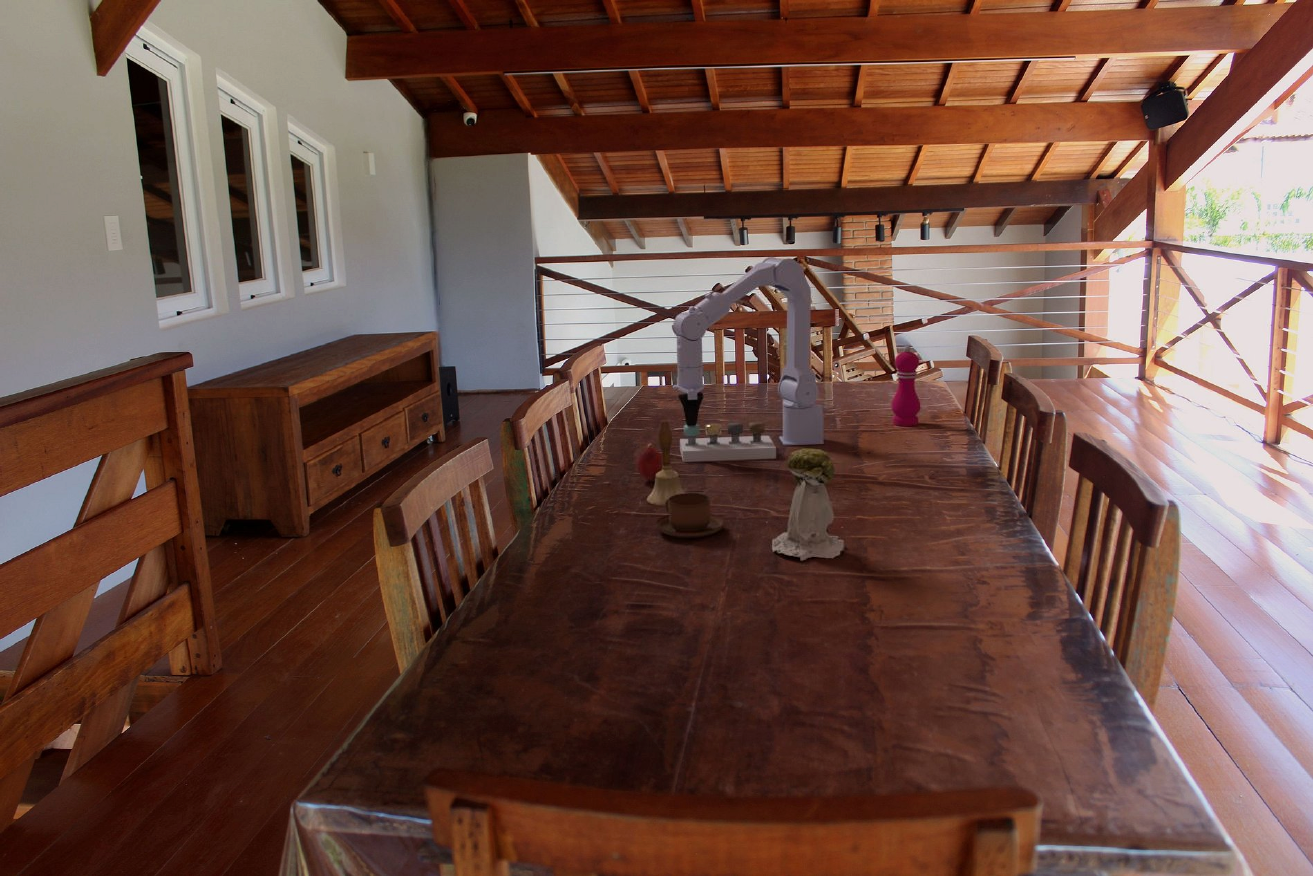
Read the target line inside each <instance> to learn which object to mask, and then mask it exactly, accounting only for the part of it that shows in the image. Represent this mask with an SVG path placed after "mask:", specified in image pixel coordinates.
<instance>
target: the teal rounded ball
mask: <svg viewBox="0 0 1313 876" xmlns="http://www.w3.org/2000/svg"><path fill="white" fill-rule="evenodd" d="M683 435H684V436H685V437H687V439H688V444H689V445H694V444H696V438H697V436H699V435H700V424H698V423H697V424H696V425H694V426H687V424H685V425H683Z"/></svg>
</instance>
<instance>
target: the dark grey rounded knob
mask: <svg viewBox="0 0 1313 876" xmlns="http://www.w3.org/2000/svg"><path fill="white" fill-rule="evenodd" d="M726 425H727V426H726V433H727V434H728V435H731V436H730V437H731V442H732V443H739V437H740V435H742V434H743V433H744V424H743V422H729V423H727V424H726Z"/></svg>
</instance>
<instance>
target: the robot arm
mask: <svg viewBox="0 0 1313 876" xmlns="http://www.w3.org/2000/svg"><path fill="white" fill-rule="evenodd" d="M804 271H805V270H804V266H802V265H801V264H800V263H799V262H798V261H796V260H795V259H793V258H788V257H786V258H781V257H778V258H777V257H773V256H770V257H769V256H768V257H765V258H764V259H763V260H762V261H761V262H758V263H756V264H755V265H754V266H752V268H751V269H750V270H749V271H747V272H746V273H745V274H744V275H743V276H741V277H740V278H739V279H738V280H736V281H735V282H734V283H733V284H731V285H730V286H729V287H728V288H726V289H725V290H724V291H722V292H716V291H714V292H708V293H706V294H704V299H702V300H701V301H700V302H698V303H697V304H696V305H694V306H693V305H691V306H690V307H688V312H681V313H679V314H677V315H676V317H675V319H674V320H673V324H672V325H671V330H672V332H673V334H674V335H675V336H676V364H677V365H676V367H677V384H675V385H672V389H673V390H678V391H680V392H682V393H679V394H677V397H678V399H679V401H680V403H681V406H682V408H683V413H684V419H685V420H684V421H685V424H686V425H687V426H694V425H696V424H697V425H698V420H699V419H698V417H699V411H700V408H701V404H702V403H703V400H704V397H705V396H704V393H703V392H701V391H702V390H704V389H705V385H704V376H703V374H704V370H703V368H704V367H703V337H704V336H705V335H706V333H707V329H709V328H710V327H711V326H713V325H714V324H715V323H717V322H718V321H719V320H721V319H723V318H724V317H725V316H726V315H728V314H729V313H730V310H731V305H733V304H735V303H736V302H737V301H739V300H741V298H743V297H745V296H746V295H748V294H749V293H752V291H754V290H756V289H757V288H758V287H773V288H775V289H777V291H779V292H780V293H781V294H782V295H783V296H784V297H786V301H787V303H786V308H787V309H786V362H785V366H784V367H783V369H782V370H781V375H780V376H781V377H780V380H779V382H778V385H777V393H778V395H779V397H780V398H781V399H782V435H781V436H779V440H780V441H781V443H782V445H784V446H801V445H802V446H805V445H806V446H807V445H824V444H825V442H824V410H823V406H822V405H821V404H815V403H816V401H817V400H818V399H819V394H820V391H819V386H818V384H817V381H816V374H815V372H814V370H813V368H812V367H811V364H810V357H811V351H810V349H811V314H812V313H811V312H812V311H811V310H812V309H811V306H812V304H811V303H812V300H811V299H812V291H811V286H810V284H809V281H808V280H807V278H806V276H805V273H804Z"/></svg>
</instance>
